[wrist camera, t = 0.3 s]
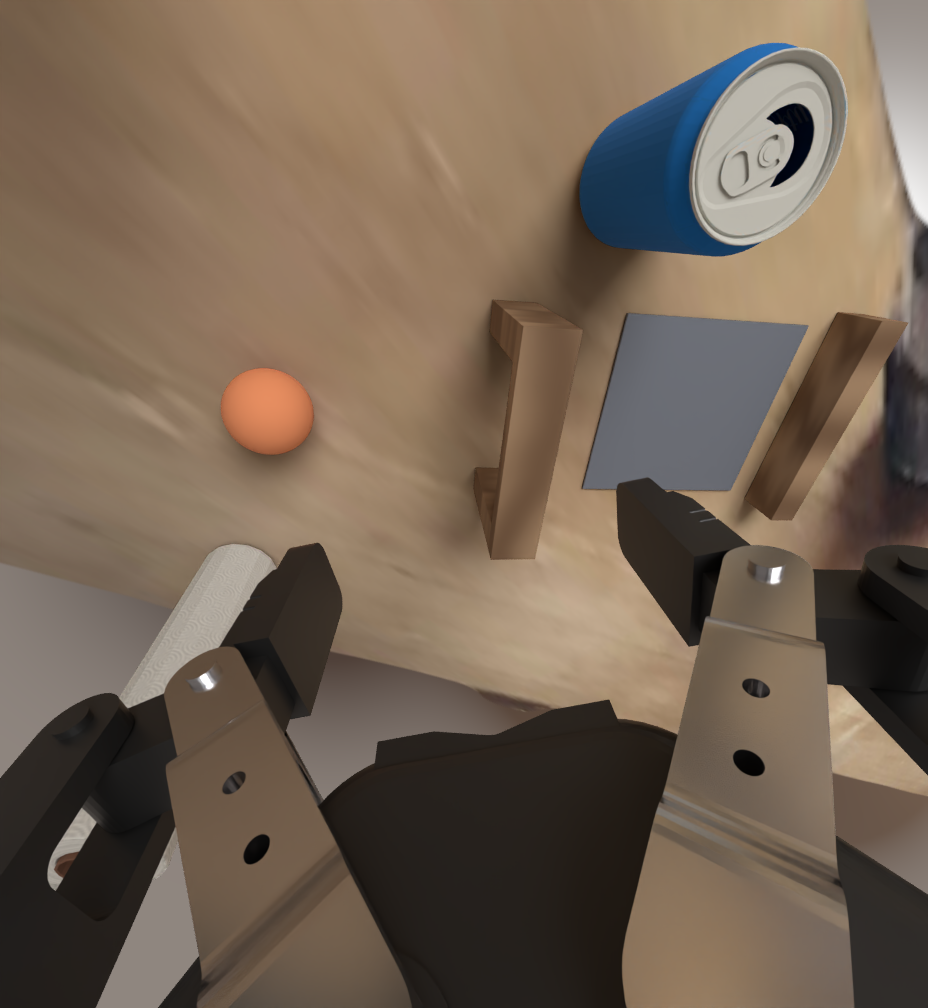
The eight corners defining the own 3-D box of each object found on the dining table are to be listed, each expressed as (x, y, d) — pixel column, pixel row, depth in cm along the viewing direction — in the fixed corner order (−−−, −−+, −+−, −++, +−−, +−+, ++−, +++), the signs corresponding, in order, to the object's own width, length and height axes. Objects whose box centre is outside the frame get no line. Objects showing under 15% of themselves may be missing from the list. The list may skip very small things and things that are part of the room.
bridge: (473, 488, 36) (490, 559, 28) (492, 299, 28) (523, 326, 20) (508, 489, 36) (534, 559, 29) (536, 302, 29) (583, 329, 21)
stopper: (838, 312, 31) (882, 320, 28) (861, 314, 31) (908, 322, 28) (744, 498, 40) (771, 520, 37) (763, 498, 40) (791, 520, 37)
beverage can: (689, 214, 27) (856, 206, 17) (592, 267, 28) (695, 288, 18) (670, 86, 23) (866, -22, 13) (560, 151, 24) (665, 97, 14)
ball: (230, 356, 28) (195, 381, 24) (316, 360, 29) (298, 385, 24) (246, 433, 31) (218, 468, 27) (323, 435, 32) (309, 470, 27)
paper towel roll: (250, 531, 36) (93, 831, 18) (292, 579, 39) (193, 873, 21) (178, 561, 37) (-42, 876, 19) (225, 605, 40) (75, 910, 22)
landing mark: (627, 313, 30) (628, 313, 29) (806, 325, 31) (808, 325, 31) (582, 487, 37) (582, 488, 37) (729, 489, 39) (730, 490, 39)
